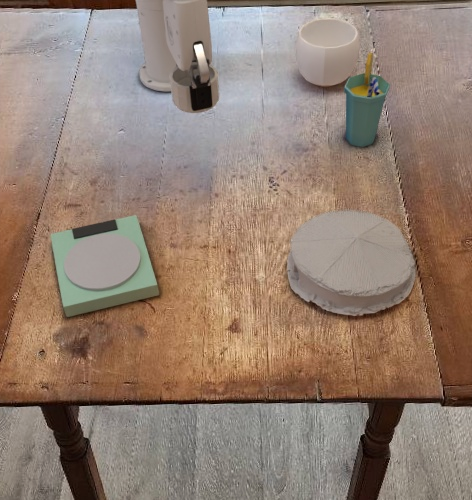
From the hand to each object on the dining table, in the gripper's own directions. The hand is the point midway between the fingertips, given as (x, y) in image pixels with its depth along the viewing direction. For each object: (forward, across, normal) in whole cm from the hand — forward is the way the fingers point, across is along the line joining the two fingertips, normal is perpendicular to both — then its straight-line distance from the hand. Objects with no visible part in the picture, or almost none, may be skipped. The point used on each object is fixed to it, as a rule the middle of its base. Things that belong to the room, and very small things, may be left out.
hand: (195, 93), depth 106 cm
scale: (+16, +16, -20) cm, 31 cm away
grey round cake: (+17, +29, +15) cm, 37 cm away
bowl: (+1, 0, 0) cm, 1 cm away
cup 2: (+16, 0, +30) cm, 34 cm away
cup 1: (+16, -21, +31) cm, 41 cm away
